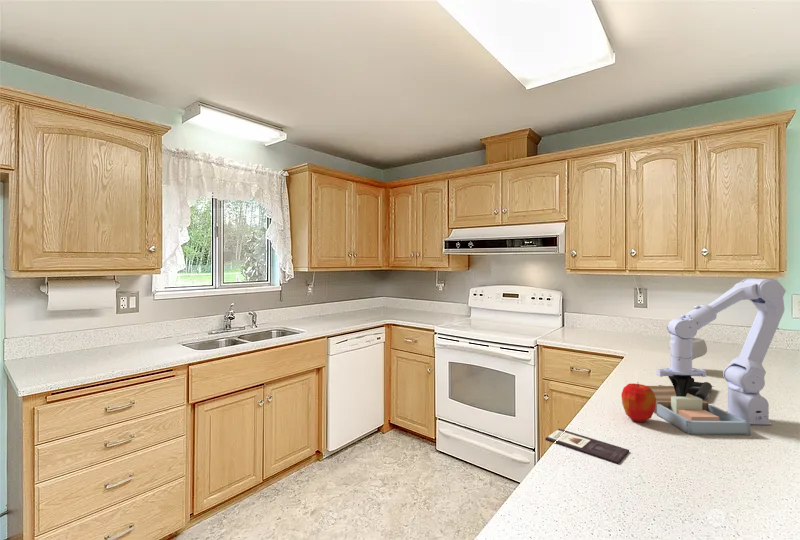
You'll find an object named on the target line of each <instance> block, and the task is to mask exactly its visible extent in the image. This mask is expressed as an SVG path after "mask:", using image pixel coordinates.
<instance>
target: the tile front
mask: <svg viewBox="0 0 800 540" xmlns="http://www.w3.org/2000/svg"><path fill="white" fill-rule="evenodd" d="M679 415H680V416H682V417H684V418H686V419H688V420H689V421H719V417H718V416H716V415H714V414H712V413H710V412H708V411H706V410H679Z"/></svg>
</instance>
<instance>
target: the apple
mask: <svg viewBox="0 0 800 540" xmlns="http://www.w3.org/2000/svg"><path fill="white" fill-rule="evenodd" d="M648 386H649V385H645V384H643V383H639V381H637V382H636V383H628V384H626V385H625V386H624V387H623V388H622V391H621V403H622V407H623V409H624V412H625V415H626V416H628V418H629V419H630V420H631V421H633V422H636V423H637V422H638V423H644V422H646V421H648V420H649V419H650V420H651V419H652V417H653V415H654V410H655V405H656V397H655V395H654V392H653V391H652V390H651V389H650V388H649V387H648Z"/></svg>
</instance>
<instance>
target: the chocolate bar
mask: <svg viewBox="0 0 800 540" xmlns="http://www.w3.org/2000/svg"><path fill="white" fill-rule="evenodd" d="M564 431H565V429H562V428H557V430H555V431H554V432H552V433H551V434H549V435H548V436H546V437H544V438H545V439H544V440H545V441H546V442H550V443H552V444H556V445H559V446H561V447H565V448H567V449H571V450H573V451H577V452H579V453H582V454H586V455H588V456H591V457H595V458H598V459H600V460H604V461H606V462H610V463H612V464H615V465H619V464H621V462H622V461H623V460H624V458H625V457H626V456H627V455H628V454H629V453H630V449H627V448H625V447H621V446H618V445H614V444H612V443H608V442H605V441H600V440H598V439H595V438H592V437H588V436H585V435H581V434H578V433H575V432H571V431H568V430H566V431H565V432H564ZM563 432H564V433H563ZM562 433H563V434H562ZM561 434H562V435H561ZM560 435H561V436H560ZM559 437H560V438H559ZM558 438H559V439H558ZM557 439H558V441H556V440H557ZM555 441H556V443H554V442H555Z"/></svg>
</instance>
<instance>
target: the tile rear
mask: <svg viewBox="0 0 800 540" xmlns="http://www.w3.org/2000/svg"><path fill="white" fill-rule="evenodd" d="M679 410H702V399H701V398H698V397H680V396H671V411H673V412H675V413H677V414H679Z"/></svg>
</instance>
